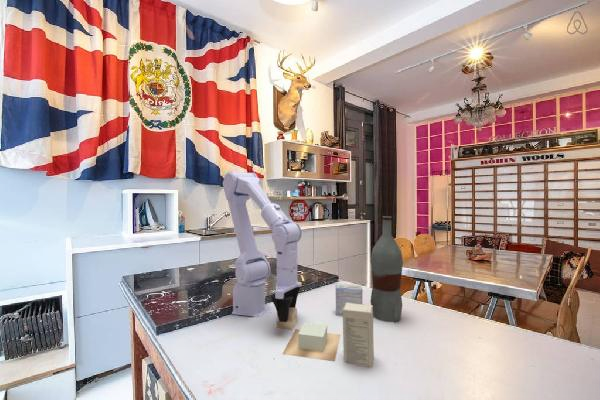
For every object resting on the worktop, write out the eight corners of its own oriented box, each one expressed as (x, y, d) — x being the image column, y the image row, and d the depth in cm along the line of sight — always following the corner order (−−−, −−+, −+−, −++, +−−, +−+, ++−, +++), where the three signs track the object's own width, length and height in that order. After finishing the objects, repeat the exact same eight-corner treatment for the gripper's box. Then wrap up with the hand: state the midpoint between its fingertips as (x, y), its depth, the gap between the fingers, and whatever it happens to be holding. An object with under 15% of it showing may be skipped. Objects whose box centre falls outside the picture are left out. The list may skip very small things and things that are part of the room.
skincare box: (374, 358, 65) (374, 304, 65) (372, 369, 61) (372, 312, 61) (345, 353, 68) (345, 301, 67) (342, 363, 63) (342, 308, 63)
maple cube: (276, 329, 79) (276, 313, 79) (281, 322, 84) (281, 306, 83) (292, 331, 78) (292, 314, 78) (296, 323, 82) (296, 308, 82)
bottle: (367, 309, 92) (368, 215, 91) (396, 310, 91) (397, 215, 90) (373, 323, 82) (374, 218, 81) (406, 323, 82) (408, 218, 81)
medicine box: (360, 311, 90) (361, 284, 90) (362, 318, 86) (362, 289, 86) (335, 310, 91) (335, 283, 91) (335, 316, 87) (335, 288, 86)
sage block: (298, 348, 69) (298, 334, 69) (304, 336, 75) (304, 322, 74) (323, 351, 67) (323, 337, 67) (327, 338, 73) (327, 325, 73)
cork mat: (282, 355, 67) (282, 353, 67) (295, 330, 78) (295, 329, 78) (334, 363, 64) (334, 361, 64) (340, 336, 75) (340, 334, 75)
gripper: (294, 275, 72) (294, 328, 73) (306, 261, 86) (307, 306, 87) (267, 273, 74) (267, 325, 74) (284, 259, 88) (284, 304, 88)
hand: (287, 315), depth 81 cm, fingers open, 7 cm apart
